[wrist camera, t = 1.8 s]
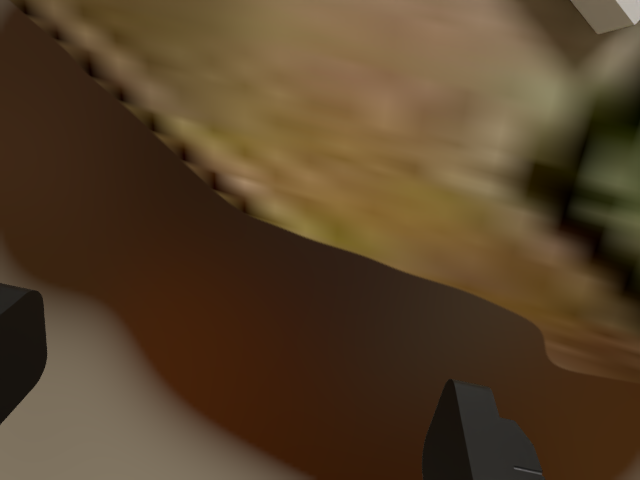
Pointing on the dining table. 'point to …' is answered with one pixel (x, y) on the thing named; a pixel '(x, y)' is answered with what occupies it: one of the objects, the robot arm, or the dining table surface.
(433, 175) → the dining table surface
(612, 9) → the decorative molding
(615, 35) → the dining table surface
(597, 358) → the dining table surface
